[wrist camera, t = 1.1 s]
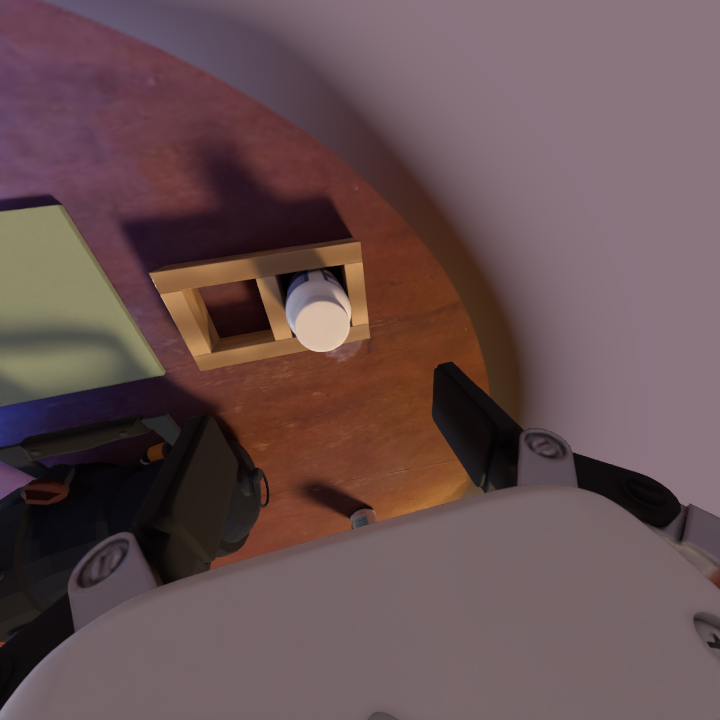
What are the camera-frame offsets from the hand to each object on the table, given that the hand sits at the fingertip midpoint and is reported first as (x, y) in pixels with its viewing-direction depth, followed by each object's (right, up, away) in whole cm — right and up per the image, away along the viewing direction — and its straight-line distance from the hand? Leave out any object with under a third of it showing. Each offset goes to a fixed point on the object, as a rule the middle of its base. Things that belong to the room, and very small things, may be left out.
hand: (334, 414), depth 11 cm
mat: (-30, +5, +11) cm, 32 cm away
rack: (-7, +8, +14) cm, 18 cm away
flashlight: (-22, -8, +20) cm, 31 cm away
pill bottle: (-3, +9, +15) cm, 18 cm away
